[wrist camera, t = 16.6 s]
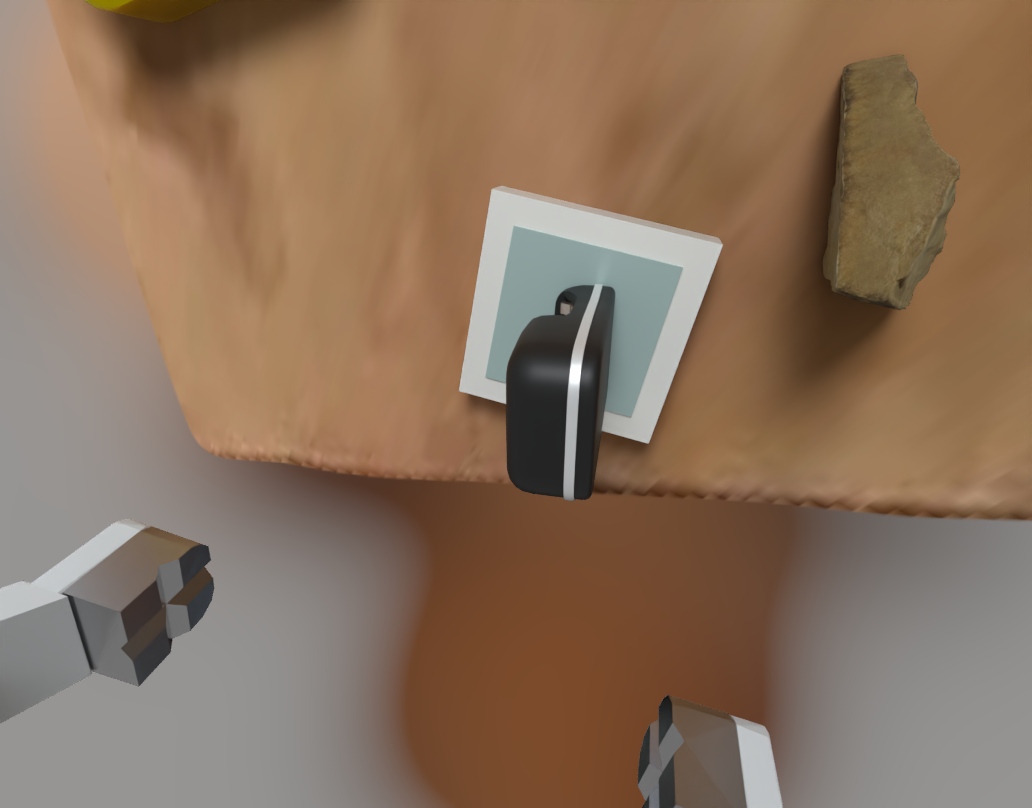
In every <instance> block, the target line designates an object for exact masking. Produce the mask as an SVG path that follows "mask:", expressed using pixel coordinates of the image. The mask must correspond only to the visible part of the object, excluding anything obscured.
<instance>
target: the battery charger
mask: <svg viewBox="0 0 1032 808" xmlns="http://www.w3.org/2000/svg"><path fill="white" fill-rule="evenodd" d="M614 303H615V291H614V289H613V288H612V287H609V286H603V284H595V286H594V285H580V286H573V287H570V288H567V289H565V290H564V291H562V292H561V293H560V294H559V296H558V297H557V300H556V304H555V314H554V315H542V316H539V317H536V318H533V319H532V320H531V321H530V322H529V323H528V325H527V326H526V327H525V328H524V330H523V331H522V333H521V335H520V337H519V339H518V341H517V343H516V345H515V347H514V349H513V352H512V354H511V356H510V359H509V361H508V365H507V372H506V443H507V471H508V474H509V478H510V480H511V481H512V482H513V484H514V485H515V486H516V487H517V488H519V489H520V490H522V491H525V492H529V493H532V494H540V495H548V496H556V497H564V500H571V501H574V500H575V499H581V500H586V499H588V498H589V497H590V496H591V494H592V490H593V485H594V479H595V472H596V466H597V459H598V452H599V446H600V439H601V432H602V425H603V418H604V411H605V405H606V398H607V390H608V378H609V365H610V353H611V341H612V328H613V316H614Z"/></svg>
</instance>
